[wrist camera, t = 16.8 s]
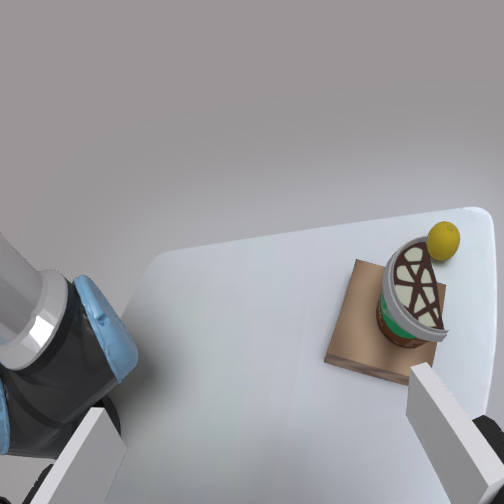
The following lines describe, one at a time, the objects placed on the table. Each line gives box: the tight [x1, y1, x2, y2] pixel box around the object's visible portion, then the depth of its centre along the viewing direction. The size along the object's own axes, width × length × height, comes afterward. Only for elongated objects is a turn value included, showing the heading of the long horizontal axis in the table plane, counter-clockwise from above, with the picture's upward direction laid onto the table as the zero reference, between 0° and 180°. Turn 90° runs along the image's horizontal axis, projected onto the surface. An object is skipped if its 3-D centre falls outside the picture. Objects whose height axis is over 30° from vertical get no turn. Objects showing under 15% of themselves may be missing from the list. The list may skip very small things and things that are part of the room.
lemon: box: [426, 221, 460, 261], centre depth 44 cm, size 6×6×8 cm
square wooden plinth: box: [324, 259, 446, 386], centre depth 41 cm, size 14×14×6 cm
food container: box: [376, 236, 449, 349], centre depth 34 cm, size 12×6×10 cm, turn 177°
